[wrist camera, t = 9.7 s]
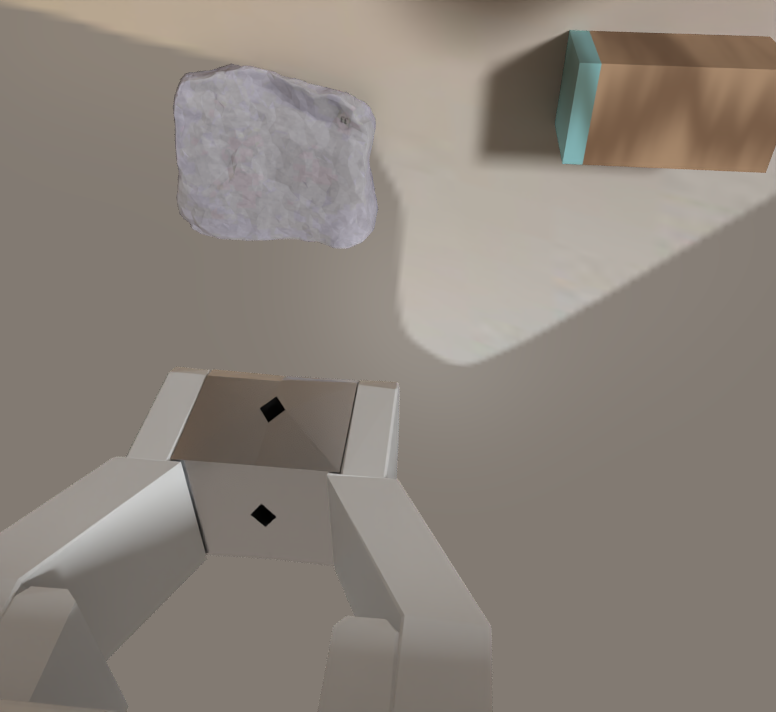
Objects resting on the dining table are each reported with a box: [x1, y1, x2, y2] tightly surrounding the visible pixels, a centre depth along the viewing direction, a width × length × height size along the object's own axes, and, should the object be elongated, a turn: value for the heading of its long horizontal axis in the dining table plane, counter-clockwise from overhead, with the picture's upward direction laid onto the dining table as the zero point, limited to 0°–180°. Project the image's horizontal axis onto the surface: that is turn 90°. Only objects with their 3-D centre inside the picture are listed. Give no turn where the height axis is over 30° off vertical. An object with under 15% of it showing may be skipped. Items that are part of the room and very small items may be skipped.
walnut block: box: [555, 30, 776, 173], centre depth 37 cm, size 5×5×10 cm
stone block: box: [173, 64, 378, 248], centre depth 42 cm, size 12×5×10 cm
